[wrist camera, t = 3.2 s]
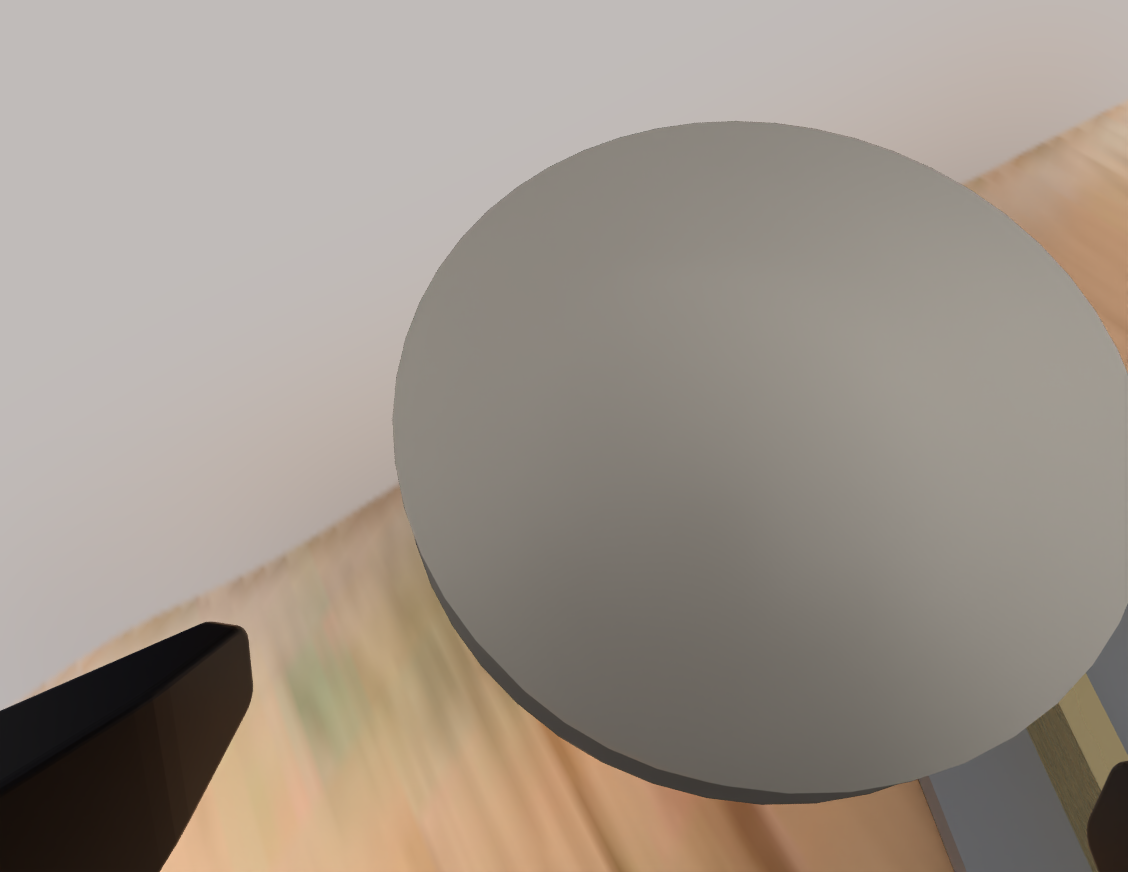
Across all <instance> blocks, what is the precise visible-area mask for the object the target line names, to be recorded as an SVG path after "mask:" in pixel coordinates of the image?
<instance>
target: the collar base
mask: <svg viewBox="0 0 1128 872" xmlns="http://www.w3.org/2000/svg"><path fill="white" fill-rule="evenodd" d="M1123 761H1128V604H1127V606H1126V609H1125V611H1124V614H1123V616H1122V618H1121V621H1120V623H1119V624H1118V626H1117V628H1116V629H1115V631H1114V632H1113V634H1112V636H1111V637H1110V639H1109V640H1108V642H1107V643H1106V645H1105V647H1104V648H1103V650H1102V651H1101V653H1100V654H1099V656H1098V658H1097V659H1096V661H1095V662H1094V664H1093V665H1092V666H1091V667H1090V669H1089V670H1088V671H1087V672H1086V673H1085V674H1084V675H1083V676H1082V677H1081V678H1080V679H1079V681H1078V682H1077V683H1076V684H1075V685H1074V686H1073V687H1072V688H1071V689H1070V690H1069V692H1068V693H1067V694H1066V695H1065V696H1064V697H1063V698H1062V699H1061V700H1060V701H1059V702H1058V703H1057V704H1056V705H1055V706H1054V707H1052V708H1051V709H1050V710H1048V711H1047V712H1046V713H1045V714H1043V715H1042V716H1041V717H1039V718H1038V719H1037V720H1035V721H1034V722H1033V723H1032V724H1030V725H1029V726H1028V727H1026V728H1025V729H1024V730H1022V731H1021V732H1020V733H1019V734H1017V735H1016V736H1015V737H1013V738H1011V739H1009V740H1007V741H1005V742H1003V743H1002V744H1000V745H998V746H996V747H994V748H992V749H990V750H988V751H987V752H985V753H983V754H981V755H979V756H977V757H975V758H973V759H972V760H970V761H968V762H966V763H964V764H961V765H958V766H955V767H952V768H949V769H946V770H943V771H940V772H937V773H934V774H931V775H928V776H925V777H922V778H919V782H920V785H921V787H922V790H923V792H924V795H925V797H926V800H927V803H928V805H929V808H930V810H931V813H932V815H933V818H934V821H935V823H936V826H937V828H938V831H939V833H940V836H941V838H942V841H943V844H944V846H945V849H946V851H947V854H948V856H949V859H950V862H951V864H952V867H953V869H954V872H1098V869H1097V867H1096V864H1095V862H1094V859H1093V856H1092V854H1091V851H1090V848H1089V844H1088V839H1087V824H1088V819H1089V816H1090V814H1091V812H1092V810H1093V808H1094V806H1095V803H1096V801H1097V799H1098V797H1099V795H1100V793H1101V791H1102V788H1103V786H1104V784H1105V782H1106V780H1107V778H1108V775H1109V773H1110V771H1111V770H1112V768H1113V767H1114V766H1115V765H1116V764H1118V763H1119V762H1123Z"/></svg>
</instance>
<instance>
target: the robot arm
mask: <svg viewBox="0 0 1128 872" xmlns="http://www.w3.org/2000/svg"><path fill="white" fill-rule="evenodd" d="M252 692H253V680H252V670H251V660H250V650H249V640H248V635H247V633H246V631H245V630H244V629H243V628H242V627H240V626H238V625H231V624H225V623H218V622H204V623H202V624H199V625H197V626H195V627H192V628H190V629H188V630H185V631H183V632H181V633H179V634H176V635H174V636H172V637H169V638H167V639H165V640H162V641H160V642H158V643H155V644H153V645H151V646H149V647H146V648H144V649H142V650H139V651H137V652H135V653H132V654H130V655H128V656H126V657H123V658H121V659H119V660H116V661H114V662H112V663H109V664H107V665H105V666H102V667H100V668H98V669H96V670H93V671H91V672H89V673H86V674H84V675H82V676H79V677H77V678H75V679H73V680H70V681H68V682H66V683H63V684H61V685H59V686H56V687H54V688H52V689H49V690H47V691H45V692H43V693H40V694H38V695H36V696H33V697H31V698H29V699H26V700H24V701H22V702H20V703H17V704H15V705H13V706H10V707H8V708H6V709H3V710H1V711H0V872H160V870H161V869H162V867H163V865H164V864H165V862H166V861H167V859H168V857H169V856H170V854H171V852H172V851H173V849H174V848H175V846H176V844H177V843H178V841H179V839H180V837H181V835H182V834H183V832H184V830H185V828H186V826H187V825H188V823H189V821H190V819H191V817H192V815H193V813H194V811H195V810H196V808H197V806H198V804H199V802H200V800H201V798H202V796H203V794H204V792H205V790H206V788H207V787H208V785H209V783H210V781H211V779H212V777H213V775H214V773H215V771H216V769H217V767H218V765H219V764H220V762H221V760H222V758H223V756H224V754H225V752H226V750H227V748H228V746H229V744H230V742H231V741H232V739H233V737H234V735H235V733H236V731H237V729H238V727H239V725H240V723H241V721H242V719H243V717H244V716H245V714H246V712H247V709H248V707H249V705H250V702H251V698H252ZM1087 839H1088V844H1089V848H1090V851H1091V854H1092V856H1093V859H1094V862H1095V864H1096V867H1097V869H1098V872H1128V761H1123V762H1119V763H1118V764H1116V765H1115V766H1114V767H1113V768H1112V770H1111V771H1110V773H1109V775H1108V778H1107V780H1106V782H1105V784H1104V786H1103V788H1102V791H1101V793H1100V795H1099V797H1098V799H1097V801H1096V803H1095V806H1094V808H1093V810H1092V812H1091V814H1090V816H1089V819H1088V824H1087Z"/></svg>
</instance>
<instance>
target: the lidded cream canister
mask: <svg viewBox="0 0 1128 872" xmlns="http://www.w3.org/2000/svg"><path fill="white" fill-rule="evenodd" d="M393 410H394V411H393V435H394V452H395V464H396V470H397V475H398V480H399V484H400V489H401V494H402V499H403V504H404V508H405V511H406V514H407V517H408V519H409V522H410V525H411V528H412V531H413V533H414V536H415V541H416V545H417V548H418V550H419V553H420V556H421V559H422V561H423V564H424V567H425V570H426V572H427V575H428V578H429V581H430V583H431V586H432V588H433V590H434V592H435V594H436V595H437V597H438V599H439V601H440V603H441V605H442V607H443V609H444V611H445V612H446V614H447V616H448V618H449V620H450V622H451V624H452V626H453V627H454V629H455V630H456V631H457V633H458V634H459V636H460V637H461V638H462V640H463V641H464V643H465V644H466V645H467V647H468V648H469V649H470V651H471V652H472V654H473V655H474V656H475V658H476V659H477V661H478V662H479V663H480V665H481V666H482V667H483V668H484V669H485V670H486V671H487V672H488V673H489V674H490V676H491V677H492V678H493V679H494V680H495V681H496V682H497V683H498V684H499V685H500V686H501V687H502V688H503V689H504V690H505V691H506V692H507V693H508V694H509V695H510V696H511V697H512V699H513V700H514V701H515V702H516V703H518V704H519V705H520V706H521V707H523V708H524V709H525V710H526V711H528V712H529V713H530V714H531V715H533V716H534V717H535V718H536V719H538V720H539V721H540V722H541V723H543V724H544V725H545V726H546V727H548V728H549V729H550V730H551V731H553V732H554V733H555V734H556V735H558V736H559V737H561V738H562V739H564V740H565V741H567V742H569V743H570V744H572V745H574V746H575V747H577V748H579V749H581V750H582V751H584V752H586V753H587V754H589V755H591V756H592V757H594V758H596V759H597V760H599V761H601V762H603V763H605V764H607V765H610V766H612V767H615V768H617V769H619V770H622V771H624V772H626V773H629V774H631V775H633V776H636V777H638V778H641V779H643V780H645V781H648V782H651V783H653V784H657V785H660V786H664V787H668V788H672V789H675V790H679V791H683V792H686V793H690V794H694V795H698V796H701V797H705V798H712V799H720V800H728V801H736V802H744V803H753V804H761V805H764V804H806V803H820V802H826V801H832V800H837V799H843V798H849V797H855V796H860V795H866V794H870V793H873V792H876V791H879V790H882V789H885V788H888V787H891V786H894V785H897V784H900V783H906V782H911V781H914V780H916V779H919V778H922V777H925V776H928V775H931V774H934V773H937V772H940V771H943V770H946V769H949V768H952V767H955V766H958V765H961V764H964V763H966V762H968V761H970V760H972V759H973V758H975V757H977V756H979V755H981V754H983V753H985V752H987V751H988V750H990V749H992V748H994V747H996V746H998V745H1000V744H1002V743H1003V742H1005V741H1007V740H1009V739H1011V738H1013V737H1015V736H1016V735H1017V734H1019V733H1020V732H1021V731H1022V730H1024V729H1025V728H1026V727H1028V726H1029V725H1030V724H1032V723H1033V722H1034V721H1035V720H1037V719H1038V718H1039V717H1041V716H1042V715H1043V714H1045V713H1046V712H1047V711H1048V710H1050V709H1051V708H1052V707H1054V706H1055V705H1056V704H1057V703H1058V702H1059V701H1060V700H1061V699H1062V698H1063V697H1064V696H1065V695H1066V694H1067V693H1068V692H1069V690H1070V689H1071V688H1072V687H1073V686H1074V685H1075V684H1076V683H1077V682H1078V681H1079V679H1080V678H1081V677H1082V676H1083V675H1084V674H1085V673H1086V672H1087V671H1088V670H1089V669H1090V667H1091V666H1092V665H1093V664H1094V662H1095V661H1096V659H1097V658H1098V656H1099V654H1100V653H1101V651H1102V650H1103V648H1104V647H1105V645H1106V643H1107V642H1108V640H1109V639H1110V637H1111V636H1112V634H1113V632H1114V631H1115V629H1116V628H1117V626H1118V624H1119V623H1120V621H1121V618H1122V616H1123V614H1124V611H1125V609H1126V606H1127V604H1128V374H1127V371H1126V369H1125V366H1124V364H1123V361H1122V359H1121V356H1120V354H1119V352H1118V350H1117V348H1116V346H1115V344H1114V343H1113V341H1112V339H1111V337H1110V336H1109V334H1108V332H1107V330H1106V328H1105V327H1104V325H1103V323H1102V321H1101V320H1100V318H1099V316H1098V314H1097V313H1096V311H1095V310H1094V308H1093V307H1092V306H1091V304H1090V303H1089V302H1088V300H1087V299H1086V298H1085V296H1084V295H1083V293H1082V292H1081V291H1080V289H1079V288H1078V287H1077V285H1076V284H1075V283H1074V281H1073V280H1072V279H1071V277H1070V276H1069V275H1068V274H1067V273H1066V272H1065V271H1064V269H1063V268H1062V267H1061V266H1060V265H1059V264H1058V263H1057V262H1056V261H1055V260H1054V259H1053V258H1052V257H1051V256H1050V254H1049V253H1048V252H1047V251H1046V250H1045V249H1044V248H1043V247H1042V246H1041V245H1040V244H1039V243H1038V242H1037V241H1036V240H1035V239H1034V238H1032V237H1031V236H1030V235H1029V234H1028V233H1027V232H1025V231H1024V230H1023V229H1022V228H1021V227H1020V226H1019V225H1017V224H1016V223H1015V222H1014V221H1013V220H1012V219H1010V218H1009V217H1008V216H1007V215H1006V214H1004V213H1003V212H1002V211H1000V210H999V209H997V208H996V207H994V206H993V205H992V204H990V203H989V202H987V201H986V200H984V199H983V198H982V197H980V196H979V195H977V194H976V193H974V192H973V191H972V190H970V189H968V188H966V187H965V186H963V185H961V184H959V183H958V182H956V181H954V180H952V179H951V178H949V177H947V176H945V175H943V174H942V173H940V172H938V171H936V170H934V169H933V168H930V167H928V166H926V165H924V164H921V163H919V162H917V161H915V160H912V159H910V158H908V157H905V156H903V155H901V154H899V153H896V152H894V151H891V150H888V149H885V148H882V147H879V146H877V145H873V144H871V143H868V142H865V141H861V140H859V139H855V138H852V137H848V136H843V135H839V134H835V133H831V132H826V131H822V130H818V129H813V128H806V127H799V126H792V125H785V124H777V123H762V122H740V121H728V122H707V123H692V124H685V125H678V126H671V127H664V128H657V129H653V130H649V131H645V132H641V133H637V134H632V135H629V136H624V137H620V138H617V139H615V140H612V141H609V142H606V143H603V144H600V145H598V146H595V147H592V148H589V149H586V150H583V151H581V152H579V153H577V154H575V155H573V156H571V157H569V158H567V159H565V160H563V161H561V162H559V163H556V164H554V165H552V166H550V167H549V168H547V169H545V170H544V171H542V172H540V173H539V174H537V175H536V176H534V177H533V178H531V179H529V180H528V181H526V182H525V183H523V184H521V185H520V186H518V187H517V188H516V189H514V190H513V191H512V192H511V193H509V194H508V195H507V196H506V197H504V198H503V199H502V200H501V201H499V202H498V203H497V204H496V205H494V206H493V207H492V208H491V209H490V210H488V211H487V212H486V213H485V214H484V215H483V216H482V217H481V219H479V220H478V221H477V222H476V224H474V225H473V227H472V228H471V229H470V230H469V231H468V232H467V233H466V234H465V235H464V236H463V237H462V238H461V239H460V241H459V242H458V243H457V245H456V246H455V247H454V249H453V250H452V251H451V253H450V254H449V255H448V257H447V258H446V259H445V261H444V262H443V263H442V265H441V266H440V267H439V269H438V270H437V272H436V274H435V276H434V278H433V280H432V281H431V283H430V285H429V287H428V288H427V290H426V292H425V294H424V295H423V297H422V299H421V301H420V303H419V306H418V308H417V311H416V313H415V316H414V318H413V321H412V323H411V326H410V328H409V331H408V334H407V336H406V339H405V343H404V347H403V351H402V356H401V360H400V364H399V369H398V373H397V377H396V386H395V398H394V409H393Z"/></svg>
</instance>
